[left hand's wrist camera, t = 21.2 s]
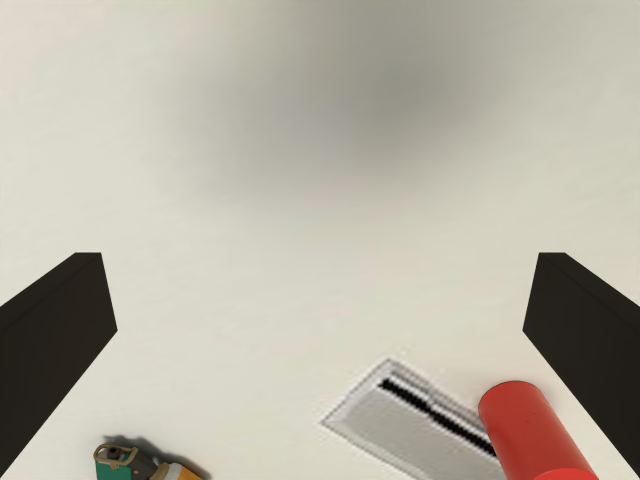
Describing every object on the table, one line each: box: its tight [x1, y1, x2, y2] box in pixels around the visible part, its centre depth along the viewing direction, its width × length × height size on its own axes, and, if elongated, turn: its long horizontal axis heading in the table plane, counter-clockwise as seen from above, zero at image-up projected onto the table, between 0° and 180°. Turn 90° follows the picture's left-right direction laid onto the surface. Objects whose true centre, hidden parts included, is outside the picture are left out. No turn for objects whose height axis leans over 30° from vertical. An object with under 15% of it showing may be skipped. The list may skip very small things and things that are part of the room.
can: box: [479, 381, 599, 480], centre depth 41 cm, size 7×7×10 cm
